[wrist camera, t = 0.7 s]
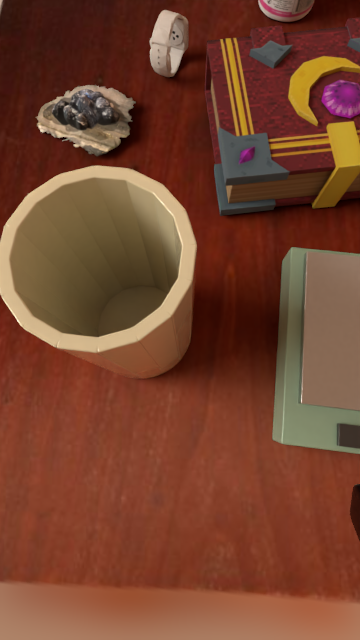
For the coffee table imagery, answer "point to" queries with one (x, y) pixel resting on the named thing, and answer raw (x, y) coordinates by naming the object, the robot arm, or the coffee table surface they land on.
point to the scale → (319, 351)
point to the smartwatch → (168, 43)
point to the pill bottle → (286, 9)
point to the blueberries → (88, 118)
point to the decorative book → (285, 117)
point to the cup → (103, 269)
